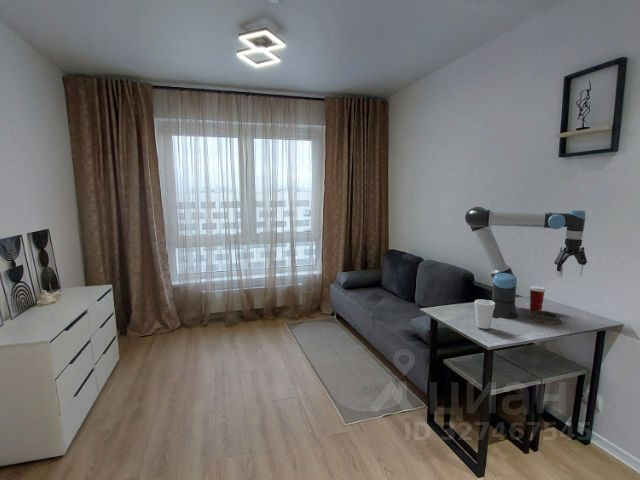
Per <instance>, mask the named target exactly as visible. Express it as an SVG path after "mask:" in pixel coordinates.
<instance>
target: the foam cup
mask: <svg viewBox="0 0 640 480" xmlns="http://www.w3.org/2000/svg"><path fill="white" fill-rule="evenodd" d="M494 308H495V303H494V302H492V300H489V299H488V300H487V299H475V300H474V309H475V310H474V311H475V321H476V327H478V328H480V329H485V330H489V329H490V328H491V325H492V321H493V311H494Z"/></svg>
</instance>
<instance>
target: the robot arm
mask: <svg viewBox="0 0 640 480" xmlns="http://www.w3.org/2000/svg"><path fill="white" fill-rule="evenodd" d="M464 216H465V217H464V220H465V222H466V224H467V225H468V226H469V228H470V229H471V232H472V233H473V234H474V233H475V234H476V236H477V238H478V242H479V243H480V246H481V248H482V250H483V253H484V255H485V258H486V260H487V262H488V264H489V267H490V269H491V270H490V272H489V275H490V277H491V278H492V281H493V283H492V296H491V297H492V299H491V301H492V302H494V303H495V308H494V311H493V316H492V318H495V319H499V318H500V319H506V320H507V319H510V320H511V319H512V320H513V319H516V318H518V314H519V313H518V309H517V305H516V298H517V297H516V295H517V284H518V280H517V277H516V275H515V274H514V273H513V270H512V268H511V266H510V265H507V263H506V261H505V259H504V256H503V254H502V252H501V249H500V247H499V245H498V242H497V240H496V238H495V235H494V233H493V230H492V226H500V227H517V228H518V227H519V228H520V227H521V228H522V227H523V228H542V229H553V230H560V229H562V228H566V231H565V238H564V245H565V247H563V246H561V247H560V249H559V252H558V254H557V256H556V258H555V259H554V262H553V264H555V266H556V277H557V278H563V272H564V264H565V262H566V261H567V259H569V257H571V256H573V257H575V259H576V262H577V265H576V270H575V276H577V277H582V274H583V269H584V266H586V265H587V264H588V260H587V257H586V254H585V253H586V252H585V247H584V246H583V245H582V243H583V236H584V229H585V223H586V211H585V210H583V209H581V210H580V209H576V210H575V209H569V210H568V212H567V213H561V212H543V213H534V212H533V213H532V212H504V211H503V212H499V211H492V210H491V209H485V208H484V207H482V206H474V207H472V208H470V209H469V210H467V211H466V213H465V215H464Z"/></svg>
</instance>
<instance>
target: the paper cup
mask: <svg viewBox="0 0 640 480" xmlns="http://www.w3.org/2000/svg"><path fill="white" fill-rule="evenodd" d="M529 292H530V293H529V294H530V295H529V297H530V298H529V299H530V300H529V310H530V312H533V311H543V303H544V297H545V292H546V289H545V287H543V286H538V285H537V286H536V285H532V286H531V285H530V288H529Z"/></svg>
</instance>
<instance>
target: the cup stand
mask: <svg viewBox="0 0 640 480" xmlns="http://www.w3.org/2000/svg"><path fill="white" fill-rule="evenodd" d="M531 312H532V313H531V314H530V315H529V318H530V319H531V320H532V321H534V322H537V323H541V324H545V325H553V326H554V325H555V326H556V325H559V324H561V321H562V320H561V319H560V315H559V314H557V313H555V312H551V311H546V310H541V311H531Z"/></svg>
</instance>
